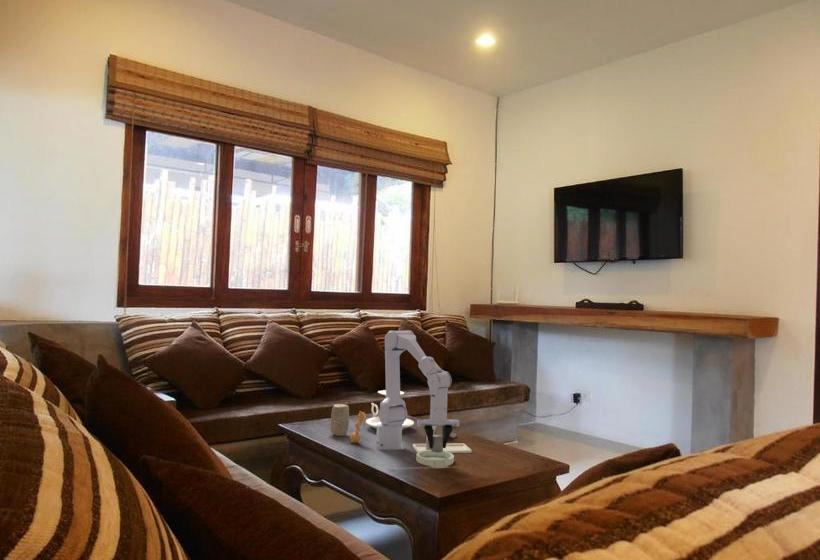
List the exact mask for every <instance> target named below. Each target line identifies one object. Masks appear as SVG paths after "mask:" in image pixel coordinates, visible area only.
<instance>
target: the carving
mask: <svg viewBox="0 0 820 560" xmlns="http://www.w3.org/2000/svg"><path fill="white" fill-rule="evenodd" d="M330 416H331V418H330V428H329V429H330V433H331V434H333V435H334V436H338V437H343V436H344V437H345V436H347V435H348V430H349V426H350V407H349V405H348V404H345V403H343V404H342V403H337V404H334V405H333V406H332V409H331V415H330Z"/></svg>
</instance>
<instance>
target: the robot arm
mask: <svg viewBox="0 0 820 560" xmlns="http://www.w3.org/2000/svg"><path fill="white" fill-rule="evenodd" d="M405 351H407V352H409V353H410V355H411V356H412V357H413V358H414V359H415V360H416V361H417V362H418V368H419V370H420V371H421V373H422V374H423V375H424V376H425V377H426V378H427V385H428V387H429V388H428V389H429V394H430V407H429V408H430V409H429V411H430V412H429V418H426V419H416V426H417V427H418V428H421V427H423V429H424V431H425V435H427V438H428V442H429V447H430V448H432V447H433V431H434V430H433V427H432V426H442V432H443V448H446V443H448V440H449V437H450V436H449V435H450V434H451V432H453V427H460V420H459V419H450V418H448V417H447V416H448V415H447V414H448V391H449V388H450V387H451V385H452V381H453V380H452V376H451V374H450V372H449V371H445V370H443V369H442V368H441V367H440V366H439V365H438V364H437V362H436V361H435V359H434V357H432V356H430V355H429V356H427V355H426V354H425V352H424V350H423V349H422V348H421V346H420V345H419V343H418V341H417V336H416V335H415V334H414V332H413V331H412V330H408V329H407V330H389V331H388V332H387V333H386V334H385V336H384V360H385V361H384V362H385V364H384V366H385V367H384V368H385V390H386V396H385V398H384V400H382V401H380V403H379V409H378V417H379V419H380V421H381V424H378V425H377V429H376V436H375V437H376V438H375V439H376V440H375V444H376V445H375V446H376V448H377V449H378V450H379V451H381V450H385V451H386V450H404V449H405V448H404V447H403V445H402V444H403V443H402V438H403V430H402V424H404V421H405V420H406V419H408V410H407V406H406V402H405V400H404V399H403V398H402V397H401V395H400V391H401V377H400V376H401V371H400V369H401V367H400V362H401V360H400V356H401V354H402V353H403V352H405ZM394 405H396V406H394Z"/></svg>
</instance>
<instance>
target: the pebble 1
mask: <svg viewBox="0 0 820 560" xmlns="http://www.w3.org/2000/svg"><path fill="white" fill-rule="evenodd" d="M425 435H426V436H425V437H426V441H425V444H426V450H431V448H430V447H429V442H428V438H427V434H425Z"/></svg>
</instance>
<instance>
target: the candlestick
mask: <svg viewBox="0 0 820 560" xmlns="http://www.w3.org/2000/svg"><path fill="white" fill-rule="evenodd" d="M377 393H378V394H380V395H383V396H385V397H386V389H383V390H378V391H377ZM401 395H405V392H404V391H401V390H400V396H401ZM370 404H371V413H372V417H370V418H367V420H366V423H365V424H367V425H369V426H371V427H372V428H373V429H376V430H377V425H378V424H381V421H380V419H379V416H377V415H379V407H378V405H377V404H376V403H374V402H371V403H370ZM394 406H396V405H394ZM374 407H375V411H374ZM414 424H415V422H414V421H413V420H412V419H409V418H406V420H405V421H404V424H402V431H403V430H406V429H407V428H409V427H411V426H413V425H414Z"/></svg>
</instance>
